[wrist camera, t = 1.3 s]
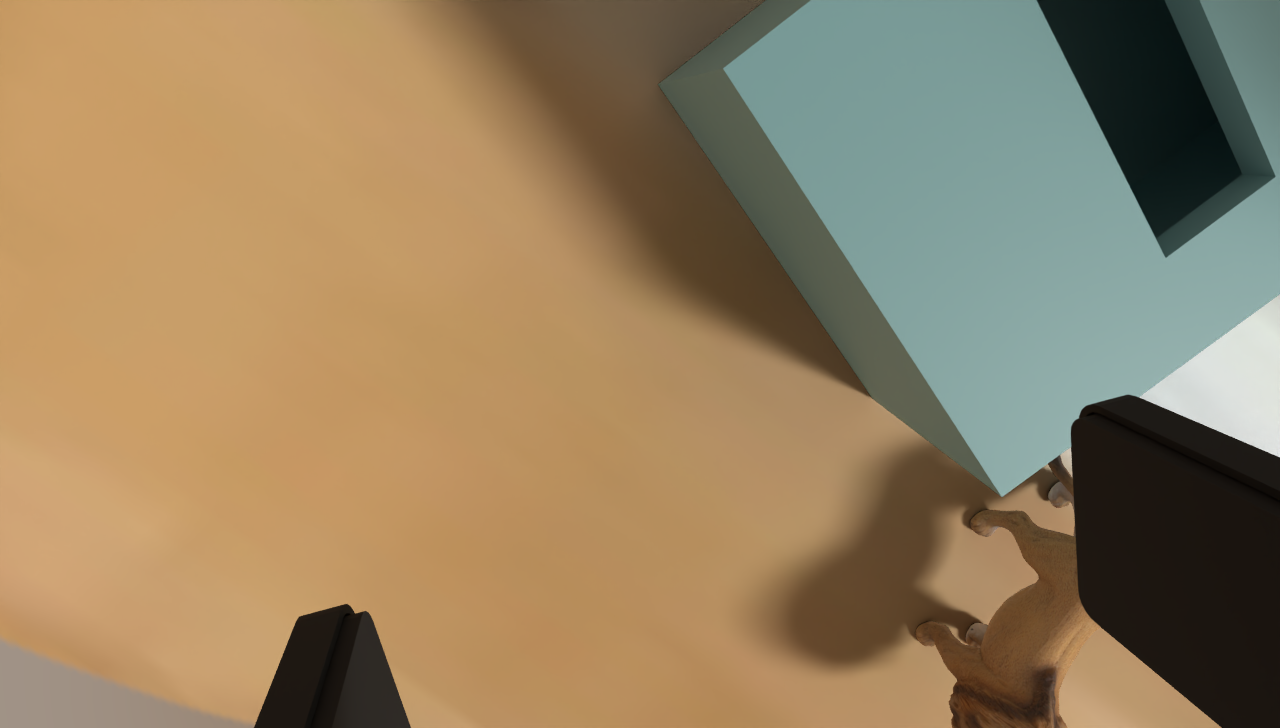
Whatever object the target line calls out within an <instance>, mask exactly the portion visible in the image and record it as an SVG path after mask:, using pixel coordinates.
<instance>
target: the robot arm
mask: <svg viewBox="0 0 1280 728" xmlns="http://www.w3.org/2000/svg"><path fill="white" fill-rule="evenodd" d="M1071 452H1072V473H1073V493H1074V514H1075V534H1076V555H1077V575H1078V592H1079V598H1080V601H1081V604H1082V606H1083V608H1084V609H1085V611H1086V613H1087V614H1088V615H1089V617H1090V618H1091V619H1092V620H1093V621H1094V622H1095V623H1097V624H1098V625H1099V626H1100V627H1101V628H1103V629H1104V630H1105V631H1106V632H1107V633H1109V634H1110V635H1111V636H1112V637H1113V638H1115V639H1116V640H1117V641H1118V642H1119V643H1121V644H1122V645H1123V646H1124V647H1125V648H1127V649H1128V650H1129V651H1130V652H1131V653H1133V654H1134V655H1135V656H1136V657H1137V658H1139V659H1140V660H1141V661H1142V662H1143V663H1145V664H1146V665H1147V666H1148V667H1149V668H1151V669H1152V670H1153V671H1154V672H1155V673H1157V674H1158V675H1159V676H1160V677H1161V678H1163V679H1164V680H1165V681H1166V682H1168V683H1169V684H1170V685H1171V686H1172V687H1174V688H1175V689H1176V690H1177V691H1178V692H1180V693H1181V694H1182V695H1183V696H1184V697H1186V698H1187V699H1188V700H1189V701H1190V702H1192V703H1193V704H1194V705H1195V706H1196V707H1198V708H1199V709H1200V710H1201V711H1202V712H1204V713H1205V714H1206V715H1207V716H1208V717H1210V718H1211V719H1212V720H1213V721H1214V722H1216V723H1217V724H1218V725H1219V726H1220V727H1222V728H1280V457H1277V456H1275V455H1273V454H1270V453H1268V452H1266V451H1263V450H1261V449H1258V448H1256V447H1254V446H1251V445H1249V444H1247V443H1244V442H1242V441H1240V440H1237V439H1235V438H1233V437H1230V436H1228V435H1226V434H1223V433H1221V432H1219V431H1216V430H1214V429H1212V428H1209V427H1207V426H1205V425H1202V424H1200V423H1198V422H1195V421H1193V420H1190V419H1188V418H1186V417H1183V416H1181V415H1179V414H1176V413H1174V412H1172V411H1169V410H1167V409H1165V408H1162V407H1160V406H1158V405H1155V404H1153V403H1151V402H1148V401H1146V400H1144V399H1141V398H1139V397H1137V396H1133V395H1129V394H1128V395H1124V396H1120V397H1116V398H1112V399H1109V400H1105V401H1101V402H1097V403H1094V404H1090V405H1086V406H1085V407H1084V408H1083V409H1082V410H1081V412H1080V415H1079V419H1076V420H1075V421H1074V422H1073V424H1072V426H1071ZM254 728H411V727H410V724H409V721H408V718H407V716H406V713H405V710H404V707H403V704H402V701H401V699H400V696H399V693H398V690H397V687H396V684H395V682H394V679H393V676H392V673H391V670H390V668H389V665H388V662H387V659H386V656H385V653H384V651H383V648H382V645H381V642H380V639H379V636H378V634H377V631H376V628H375V625H374V622H373V620H372V618H371V616H370V614H369V613H368V612H367V611H364V612H360V613H356V614H355V613H354V611H353V609H352V608H351V606H349V605H348V604H344V605H341V606H337V607H333V608H329V609H326V610H322V611H318V612H314V613H311V614H307V615H303V616H300V617H299V618H298V619H297V621H296V623H295V626H294V628H293V631H292V633H291V636H290V638H289V641H288V643H287V646H286V648H285V651H284V653H283V656H282V658H281V661H280V663H279V666H278V669H277V671H276V674H275V676H274V679H273V681H272V684H271V686H270V689H269V691H268V694H267V696H266V699H265V701H264V704H263V706H262V709H261V711H260V714H259V716H258V719H257V722H256V724H255V727H254Z"/></svg>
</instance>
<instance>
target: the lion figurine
mask: <svg viewBox="0 0 1280 728" xmlns="http://www.w3.org/2000/svg"><path fill="white" fill-rule="evenodd" d="M1048 465H1049V467H1050V468H1051V470H1052V472H1053V474H1054V475H1055V476H1056V477H1057V478H1058V479H1059V480H1060V482H1058V483H1056V484H1055V485H1054V486H1053V487H1052V488H1051V490H1050V492H1049V494H1048V498H1049V500H1050V502H1051V504H1052V505H1053V506H1054V507H1056V508H1061V507H1063V506H1067V505H1069V503H1072V506H1073V509H1074V493H1073V478H1072V477H1071V475H1070V474H1069V472H1068V471H1067V469H1066V468H1065V467H1064V466H1063V463H1062V461H1061V457H1060V455H1059V456H1058V457H1056V458H1055V459H1053V460H1052V461H1051V462H1049V463H1048ZM998 527H1003V528H1006V529H1008V530H1009V531H1010V532H1011V533H1012V534H1013V535H1014V537H1015V539H1016V542H1017V543H1018V546H1019V548H1020V550H1021V553H1022V555H1023V558H1024V559H1025V561H1026V562H1027V563H1028V564H1029V565H1030V566H1031V567H1032V568H1033V569H1034V570H1035V571H1036V572H1037V574H1038V576H1039V579H1038V581H1037V582H1036V583H1035V584H1032V585H1030V586H1028V587H1026V588H1024V589H1021V590H1020V591H1018V592H1017V593H1016V594H1014V595H1013V596H1011V597H1010V598H1008V599H1007V600H1006V601H1005V602H1004V603H1003V604H1002V606H1001V607H1000V608H999V609H998V610H997V611H996V613H995V614H994V616H993V617H992V619H991V621H990V623H989V625H986V624H982V623H975V624H973V625H972V626H970V628H969V630H968V631H967V634H966V642H967V644H968V645H964V644H962V643H961V642H960V641H959V640H958V639H957V638H955V636H954V635H953V634H952V633H951V631H950V629H949V628H948V627H947V626H946V625H942V624H939V623H936V622H934V621H929V622H926V623H923V624H921V625H920V626H918V627H917V629H916V631H915V632H916V638H917V640H918V641H919V642H920V643H921V644H923V645H924V646H934V645H936V647H937V649H938V651H939V653H940V655H941V657H942V659H943V662H944V663H945V665H946V666H947V668H948V669H949V671H950V672H951V673H952V674H953V675H954V676H955V677H956V679H957V682H956V683H955V685H954V687H953V694H952V695H951V699H950V700H949V705H950V709H951V712H952V713H953V718H952V728H1067V726H1066V724H1065V723H1064V721H1063V720H1062V717H1061V716H1060V715H1059V689H1060V687H1061V684H1062V681H1063V679H1064V677H1065V675H1066V673H1067V671H1068V669H1069V667H1070V665H1071V664H1072V662H1073V660H1074V659H1075V657H1076V656H1077V654H1078V653H1079V651H1080V648H1081V647H1082V646H1083V644H1084V643H1085V642H1086V640H1087V639H1088V638H1089V637H1090V636H1091V635H1092V634H1093V633H1094V632H1095V631H1096V630H1097V629H1099V628H1100V626H1099V625H1098V624H1097V623H1095V622H1094V621H1093V620H1092V619H1091V618H1090V617H1089V615H1088V614H1087V613H1086V611H1085V609H1084V608H1083V606H1082V604H1081V601H1080V598H1079V592H1078V575H1077V555H1076V534H1075V527H1074V536H1071V535H1067V534H1064V533H1060V532H1055V531H1051V530H1047V529H1043V528H1040V527H1038V526H1037V525H1035V524H1034V523H1033V522H1032V520H1031V519H1030V518H1029V516H1028V515H1027V514H1026V513H1025V512H1023V511H998V510H984V511H981V512H979V513H977V514H976V515H975V516H974V517H973V518H972V519H971V529H972V530H973V531H974V532H975V533H977V534H979V535H982V536H985V537H988V536H991V535H992V534H993V533H994V532H995V530H996V529H997V528H998Z"/></svg>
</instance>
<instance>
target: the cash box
mask: <svg viewBox="0 0 1280 728" xmlns="http://www.w3.org/2000/svg"><path fill="white" fill-rule="evenodd" d="M658 85H659V87H660V88H661V90H662V91H663V93H664V94H665V96H666V97H667V99H668V100H669V101H670V103H671V104H672V106H673V107H674V109H675V110H676V112H677V113H678V115H679V116H680V118H681V119H682V120H683V122H684V123H685V125H686V126H687V128H688V129H689V131H690V132H691V134H692V135H693V137H694V138H695V139H696V141H697V142H698V144H699V145H700V147H701V148H702V150H703V151H704V153H705V154H706V156H707V157H708V159H709V160H710V161H711V163H712V164H713V166H714V167H715V169H716V170H717V172H718V173H719V175H720V176H721V178H722V179H723V180H724V182H725V183H726V185H727V186H728V188H729V189H730V191H731V192H732V194H733V195H734V197H735V198H736V199H737V201H738V202H739V204H740V205H741V207H742V208H743V210H744V211H745V213H746V214H747V216H748V217H749V219H750V220H751V221H752V223H753V224H754V226H755V227H756V229H757V230H758V232H759V233H760V235H761V236H762V238H763V239H764V240H765V242H766V243H767V245H768V246H769V248H770V249H771V251H772V252H773V254H774V255H775V257H776V258H777V260H778V261H779V262H780V264H781V265H782V267H783V268H784V270H785V271H786V273H787V274H788V276H789V277H790V279H791V280H792V281H793V283H794V284H795V286H796V287H797V289H798V290H799V292H800V293H801V295H802V296H803V298H804V299H805V300H806V302H807V303H808V305H809V306H810V308H811V309H812V311H813V312H814V314H815V315H816V317H817V318H818V320H819V321H820V322H821V324H822V325H823V327H824V328H825V330H826V331H827V333H828V334H829V336H830V337H831V339H832V340H833V341H834V343H835V344H836V346H837V347H838V349H839V350H840V352H841V353H842V355H843V356H844V358H845V359H846V360H847V362H848V363H849V365H850V366H851V368H852V369H853V371H854V372H855V374H856V375H857V377H858V378H859V380H860V381H861V382H862V384H863V385H864V387H865V388H866V390H867V391H868V393H869V394H870V396H871V397H872V399H874V400H875V401H876V402H878V403H879V404H880V405H882V406H883V407H884V408H885V409H887V410H888V411H889V412H891V413H892V414H893V415H895V416H896V417H897V418H899V419H900V420H901V421H903V422H904V423H905V424H906V425H908V426H909V427H910V428H912V429H913V430H914V431H916V432H917V433H918V434H920V435H921V436H922V437H924V438H925V439H926V440H927V441H929V442H930V443H931V444H933V445H934V446H935V447H937V448H938V449H939V450H941V451H942V452H943V453H945V454H946V455H947V456H948V457H950V458H951V459H952V460H954V461H955V462H956V463H958V464H959V465H960V466H962V467H963V468H964V469H966V470H967V471H968V472H970V473H971V474H972V475H973V476H975V477H976V478H977V479H979V480H980V481H981V482H983V483H984V484H985V485H987V486H988V487H989V488H991V489H992V490H993V491H994V492H996V493H997V494H998V495H1000V496H1001V497H1003V496H1004V495H1006V494H1007V493H1008V492H1010V491H1011V490H1012V489H1014V488H1015V487H1016V486H1018V485H1019V484H1021V483H1022V482H1023V481H1025V480H1026V479H1027V478H1029V477H1030V476H1032V475H1033V474H1034V473H1036V472H1037V471H1038V470H1040V469H1041V468H1042V467H1044V466H1045V465H1047V464H1048V463H1049V462H1051V461H1052V460H1053V459H1055V458H1056V457H1058V456H1059V455H1060V454H1062V453H1063V452H1064V451H1066V450H1067V449H1069V448H1070V447H1071V426H1072V424H1073V422H1074V421H1075V420H1076V419H1079V415H1080V412H1081V410H1082V409H1083V408H1084V407H1085V406H1086V405H1090V404H1094V403H1097V402H1101V401H1105V400H1109V399H1112V398H1116V397H1120V396H1124V395H1128V394H1129V395H1133V396H1137V397H1140V396H1141V395H1142V394H1144V393H1145V392H1147V391H1148V390H1149V389H1151V388H1152V387H1153V386H1155V385H1156V384H1157V383H1159V382H1160V381H1162V380H1163V379H1164V378H1166V377H1167V376H1168V375H1170V374H1171V373H1173V372H1174V371H1175V370H1177V369H1178V368H1179V367H1181V366H1182V365H1184V364H1185V363H1186V362H1188V361H1189V360H1190V359H1192V358H1193V357H1194V356H1196V355H1197V354H1199V353H1200V352H1201V351H1203V350H1204V349H1205V348H1207V347H1208V346H1210V345H1211V344H1212V343H1214V342H1215V341H1216V340H1218V339H1219V338H1220V337H1222V336H1223V335H1225V334H1226V333H1227V332H1229V331H1230V330H1231V329H1233V328H1234V327H1236V326H1237V325H1238V324H1240V323H1241V322H1242V321H1244V320H1245V319H1246V318H1248V317H1249V316H1251V315H1252V314H1253V313H1255V312H1256V311H1257V310H1259V309H1260V308H1262V307H1263V306H1264V305H1266V304H1267V303H1268V302H1270V301H1271V300H1272V299H1274V298H1275V297H1277V296H1278V295H1279V294H1280V0H766V1H764V2H763V3H762V4H760V5H759V6H758V7H757V8H755V9H754V10H753V11H751V12H750V13H749V14H748V15H746V16H745V17H744V18H743V19H741V20H740V21H739V22H737V23H736V24H735V25H734V26H732V27H731V28H730V29H728V30H727V31H726V32H725V33H723V34H722V35H721V36H719V37H718V38H717V39H716V40H714V41H713V42H712V43H710V44H709V45H708V46H707V47H705V48H704V49H703V50H702V51H700V52H699V53H698V54H696V55H695V56H694V57H693V58H691V59H690V60H689V61H687V62H686V63H685V64H684V65H682V66H681V67H680V68H678V69H677V70H676V71H675V72H673V73H672V74H671V75H669V76H668V77H667V78H666V79H664V80H663V81H662V82H660V83H659V84H658Z"/></svg>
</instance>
